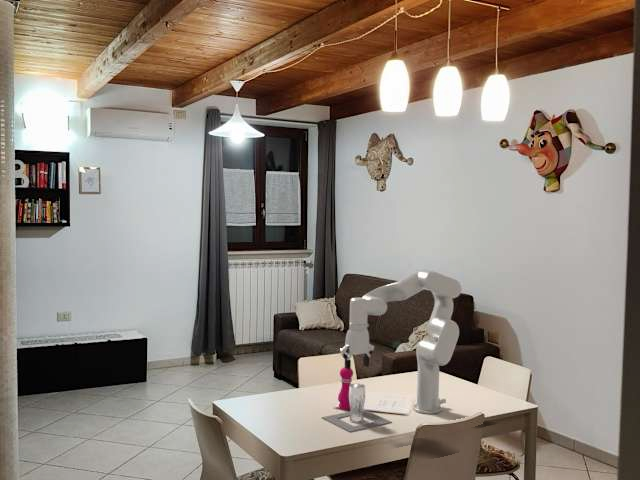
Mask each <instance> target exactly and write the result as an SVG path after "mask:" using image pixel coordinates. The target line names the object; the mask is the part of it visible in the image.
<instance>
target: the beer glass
mask: <svg viewBox="0 0 640 480" xmlns="http://www.w3.org/2000/svg"><path fill="white" fill-rule="evenodd" d="M365 402H366V385H365V384H362V383H351V385H350V387H349V403H350V411H351V413H350V416H349V422H351V423H355V424H361V423H363V422H364V421H365V420H364V416H363V409H364V407H365ZM350 411H349V412H350Z"/></svg>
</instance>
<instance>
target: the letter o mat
mask: <svg viewBox="0 0 640 480" xmlns="http://www.w3.org/2000/svg"><path fill="white" fill-rule="evenodd" d="M350 413H351V411H346V412H341V413H337V414H332V415H325V416H322V417H321V419H322V420H324V421H327V422H328V423H330V424H333V425H334V426H336V427H338V428H341V429H342V430H344V431H346V432H348V433H354V432H358V431H362V430H366V429H370V428H374V427H375V428H376V427H379V426H384V425H387V424H389V425H390V424H392V423H393V422H392V421H391V420H389V419H388V418H387V419H386V418H384V417H382V416H379V415H377V414H375V413H373V412H371V411H368V410H367V409H364V408H363V418H364V417H365V418H367V419H370V420H371V422H367V423H366V422H365V423H364V424H363V423H362V424H358V425H352V424H349V423H348V422H346V421H344V420H342V419H343V418H348V417H350Z"/></svg>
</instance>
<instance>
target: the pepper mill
mask: <svg viewBox="0 0 640 480" xmlns="http://www.w3.org/2000/svg"><path fill="white" fill-rule="evenodd" d="M353 375H354V371H353V369H352V367H351V368H350V369H346V368H345V366H344V367H342V368H341V369H340V370H339V376H340V382H341V388H340V391H339V393H338V396H337V401H338V402H339V403H338V409H340V410H342V411H343V410H344V411H349V410H350V403H349V387H350V385H351V384H352V382H353V381H352V380H353V378H352V377H353Z"/></svg>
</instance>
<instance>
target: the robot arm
mask: <svg viewBox="0 0 640 480" xmlns="http://www.w3.org/2000/svg"><path fill="white" fill-rule="evenodd" d="M424 290H426V291H430V293H432V296H433V298H434V306H433V310H432V312H431V315H430V318H429V321H428V323H427V328H426V332H427V334H428V335H429V336H430V337H432V338H434V339H437V341H436V340H434V339H429V338H426V339H422V340H420V341H419V342H418V343H417V345H416V348H415V349H416V350H415V351H416V352H415V353H416V360H417V388H416V389H417V392H416V393H417V394H416V403H415V404H414V405H413V406H412V407H413V410H414V411H415V412H418V413H421V414H428V415H433V414H440V413H441V412H442V411H443V408H442V406H441V405H442V404H446V403H447V400H446V398H441V399H440V397H439V395H440V394H439V392H440V366H441V367H442V366H445V365H447V364H448V363H449V362H450V361H451V359H452V356H453V354H454V351H455V348H456V347H457V346H456V345H457V342H458V339H459V336H460V328H459V325H458V324H457V322H456V321H454V320H452V315H453V312H454V301H453V299H455V298H458V297H459V296H460V295H461V292H462V285H461V283H460V282H459V281H458V280H457V279H455V278H453V277H449V276H447V275H445V274H442V273H439V272H436V271H433V270H428V269H418V270H416V271H414V272H412V273H410V274H408V275H407V276H405V277H403V278H401V279H400V280H398V281H395V282H393V283H390V284H386V285H383V286H379V287H377V288H375V289H373V290H370V291H369V292H367V293H366V294H364V295H363V296H362V297H357V296H356V297H352V298H350V301H349V320H348V321H349V324H348V325H349V329H348V330H347V332H346V336H345V342H344V346H343V347H342V348H340V349H339V351H340V352H339V353H340V355H341V357H342V358H343V360H344V367H345V368H346V369H350V368H351V369H352V367H351V366H352V364H351V363H352V361H351V358H352V356H358V355H363V358H362V359H363V360H362V362H363V363H362V365H363V367H367V368H369V367H370V358H371V357H372V354H373V352H374V349H375V345H373V344H371V343H370V333H369V330H368V328H369V326H370V324H369V323H368V316H375V317H376V316H382V315H384V314H385V313H386V312H387V310H388V304H387V303H389V302H398V301H405V300H408V299H410V298H411V297H413V296H414V295H416V294H418V293H420V292H421V291H424Z"/></svg>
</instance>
